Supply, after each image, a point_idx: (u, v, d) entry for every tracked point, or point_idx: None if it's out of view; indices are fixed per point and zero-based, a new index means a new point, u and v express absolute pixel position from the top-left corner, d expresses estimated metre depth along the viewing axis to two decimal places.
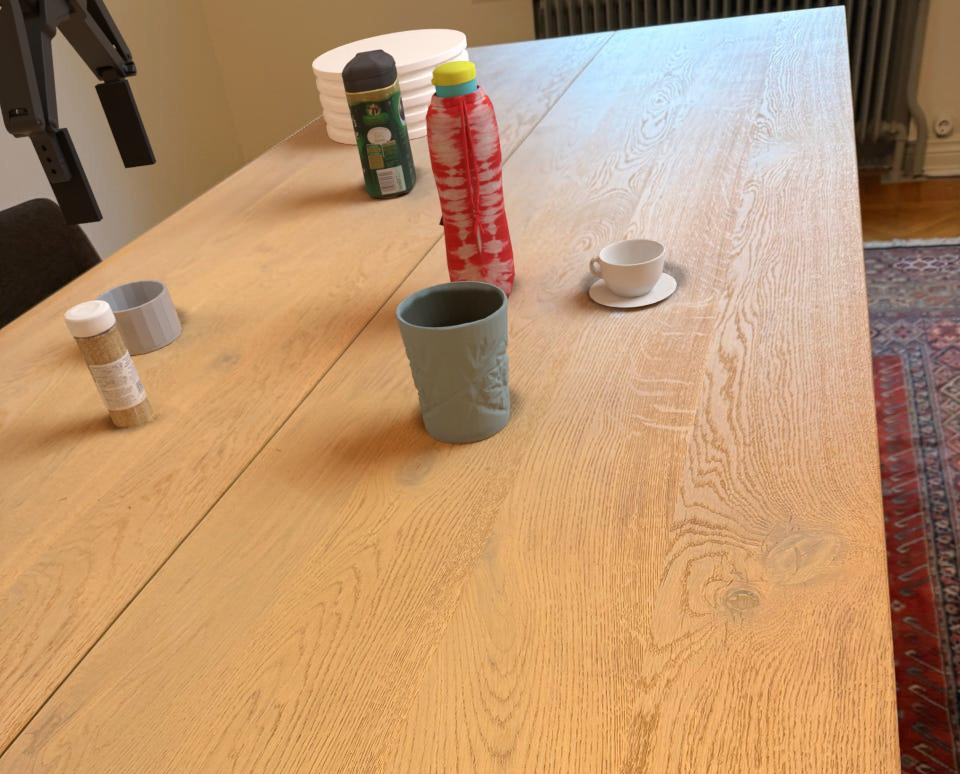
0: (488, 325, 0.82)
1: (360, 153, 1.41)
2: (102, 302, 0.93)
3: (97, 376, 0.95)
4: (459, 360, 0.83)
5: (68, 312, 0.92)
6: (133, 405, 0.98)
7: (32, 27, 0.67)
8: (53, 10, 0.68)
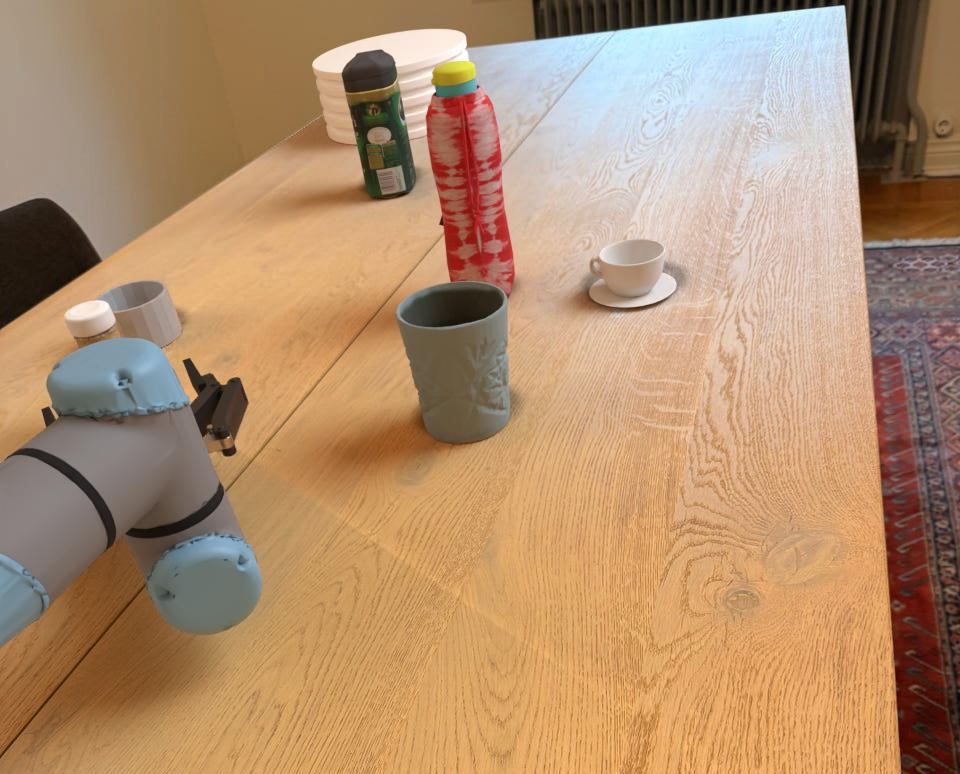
0: (488, 325, 0.82)
1: (360, 153, 1.41)
2: (102, 302, 0.93)
3: None
4: (459, 360, 0.83)
5: (68, 312, 0.92)
6: None
7: None
8: None
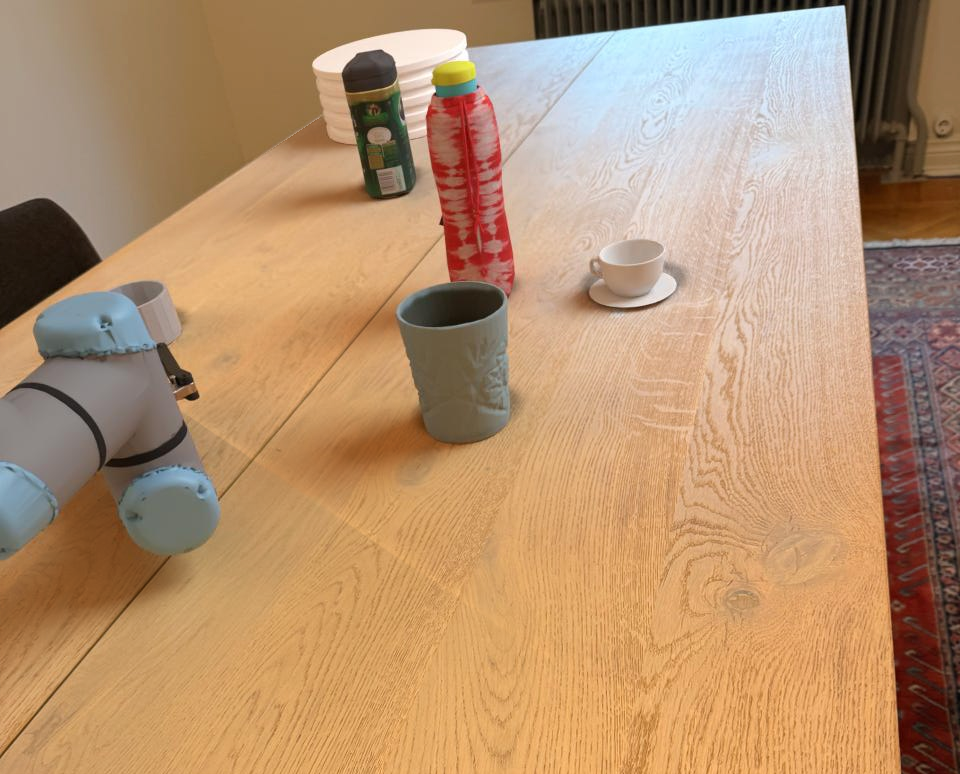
0: (488, 325, 0.82)
1: (360, 153, 1.41)
2: None
3: None
4: (459, 360, 0.83)
5: None
6: None
7: None
8: None
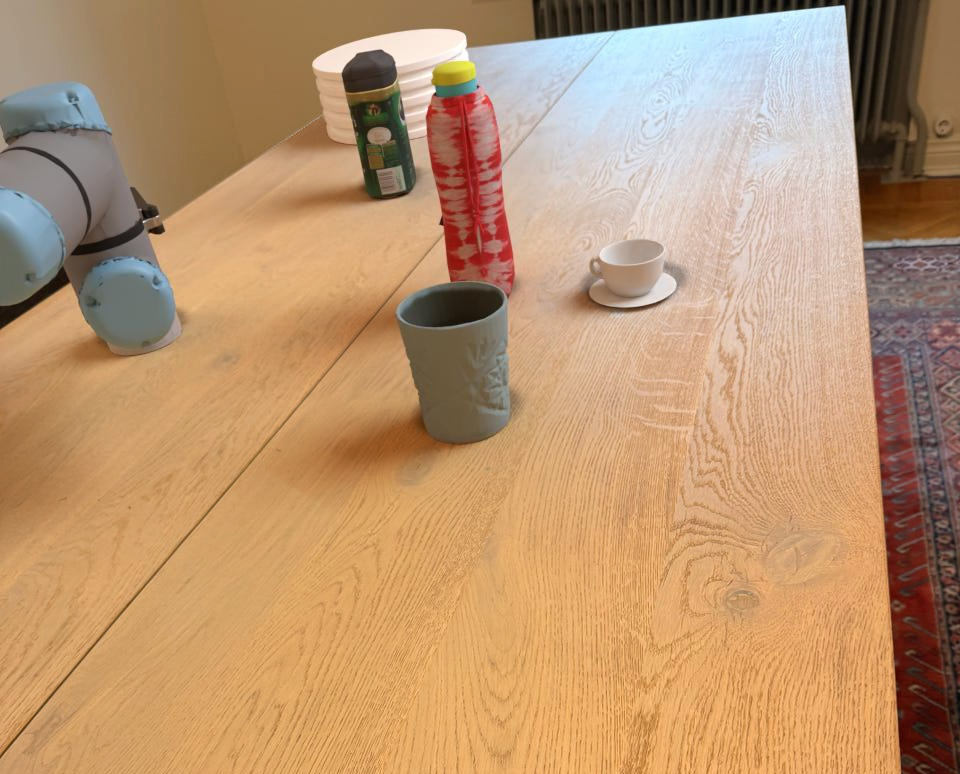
0: (488, 325, 0.82)
1: (360, 153, 1.41)
2: None
3: None
4: (459, 360, 0.83)
5: None
6: None
7: None
8: None
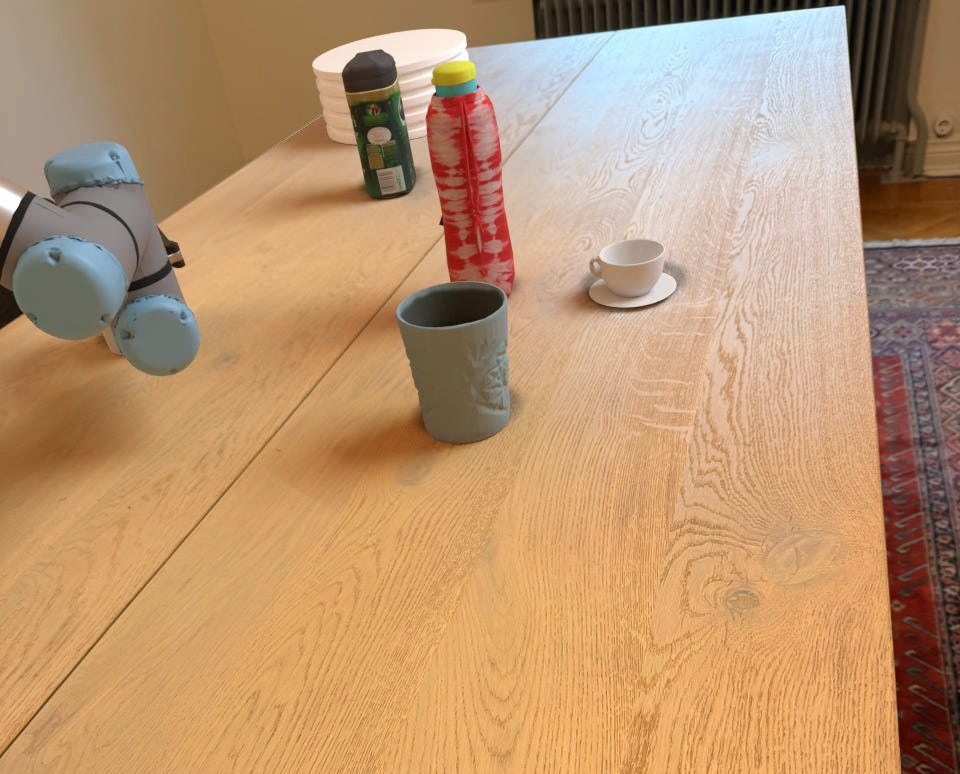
0: (488, 325, 0.82)
1: (360, 153, 1.41)
2: None
3: None
4: (459, 360, 0.83)
5: None
6: None
7: None
8: None
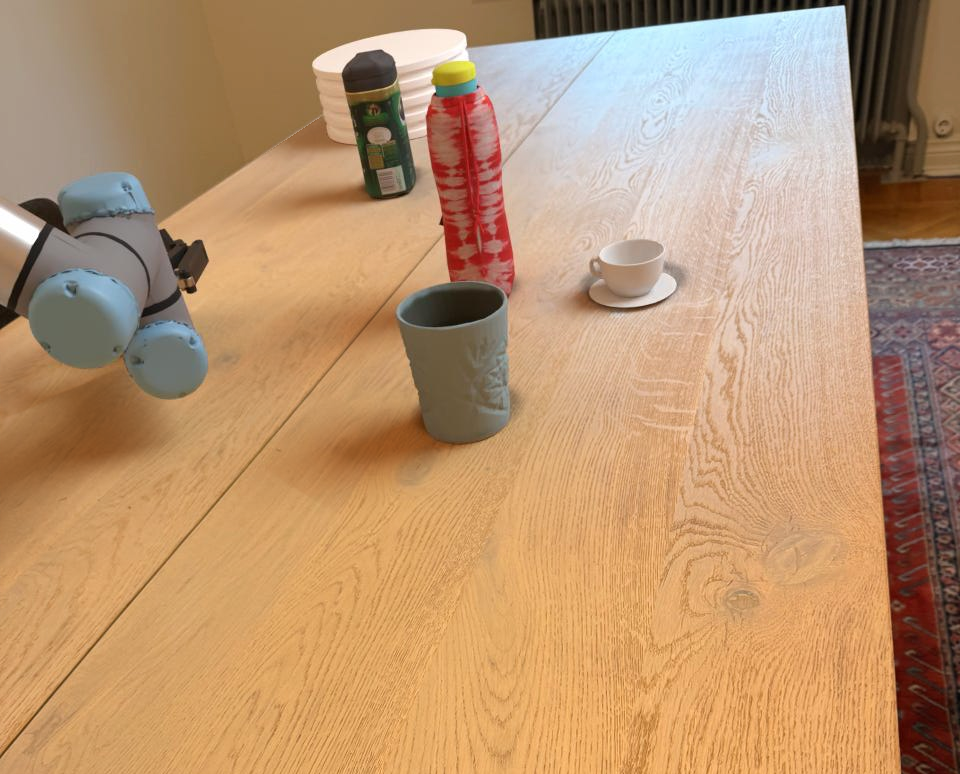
0: (488, 325, 0.82)
1: (360, 153, 1.41)
2: None
3: None
4: (459, 360, 0.83)
5: None
6: None
7: None
8: None
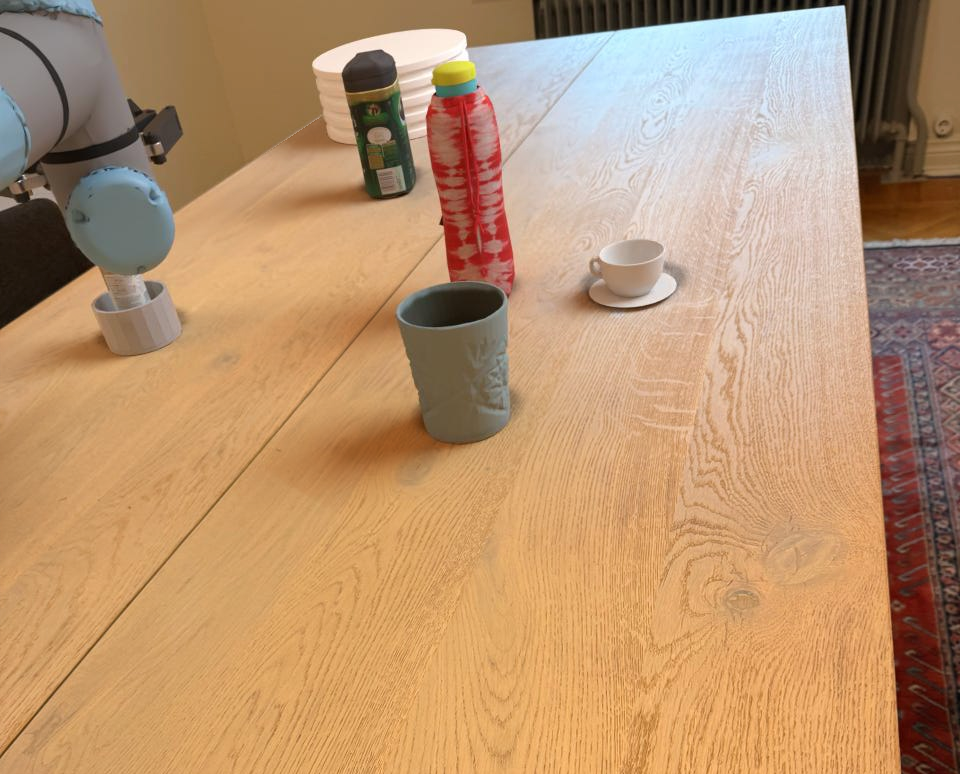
0: (488, 325, 0.82)
1: (360, 153, 1.41)
2: None
3: (111, 285, 1.12)
4: (459, 360, 0.83)
5: None
6: None
7: None
8: None
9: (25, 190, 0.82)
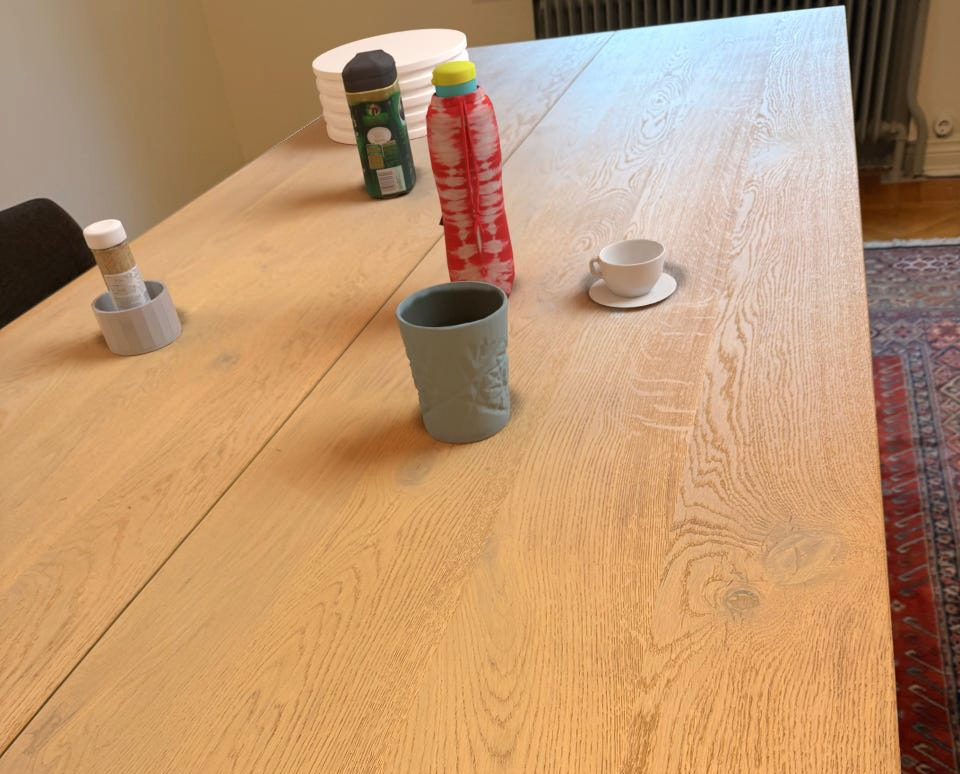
0: (488, 325, 0.82)
1: (360, 153, 1.41)
2: (115, 220, 1.10)
3: (111, 285, 1.12)
4: (459, 360, 0.83)
5: (86, 228, 1.09)
6: None
7: None
8: None
9: None
